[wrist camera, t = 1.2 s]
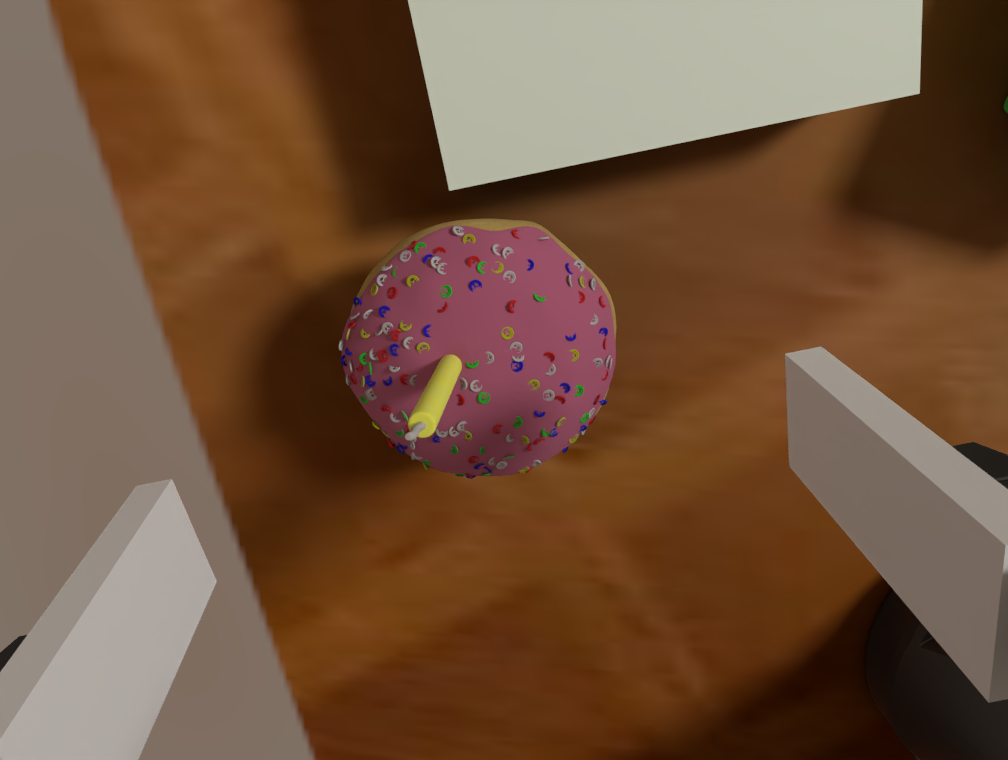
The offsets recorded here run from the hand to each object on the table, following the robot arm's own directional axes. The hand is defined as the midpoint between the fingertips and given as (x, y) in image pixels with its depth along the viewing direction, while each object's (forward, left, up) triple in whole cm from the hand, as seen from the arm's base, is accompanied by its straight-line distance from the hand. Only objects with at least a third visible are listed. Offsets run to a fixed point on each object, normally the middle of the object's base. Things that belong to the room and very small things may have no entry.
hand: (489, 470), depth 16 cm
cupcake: (0, 0, -13) cm, 13 cm away
